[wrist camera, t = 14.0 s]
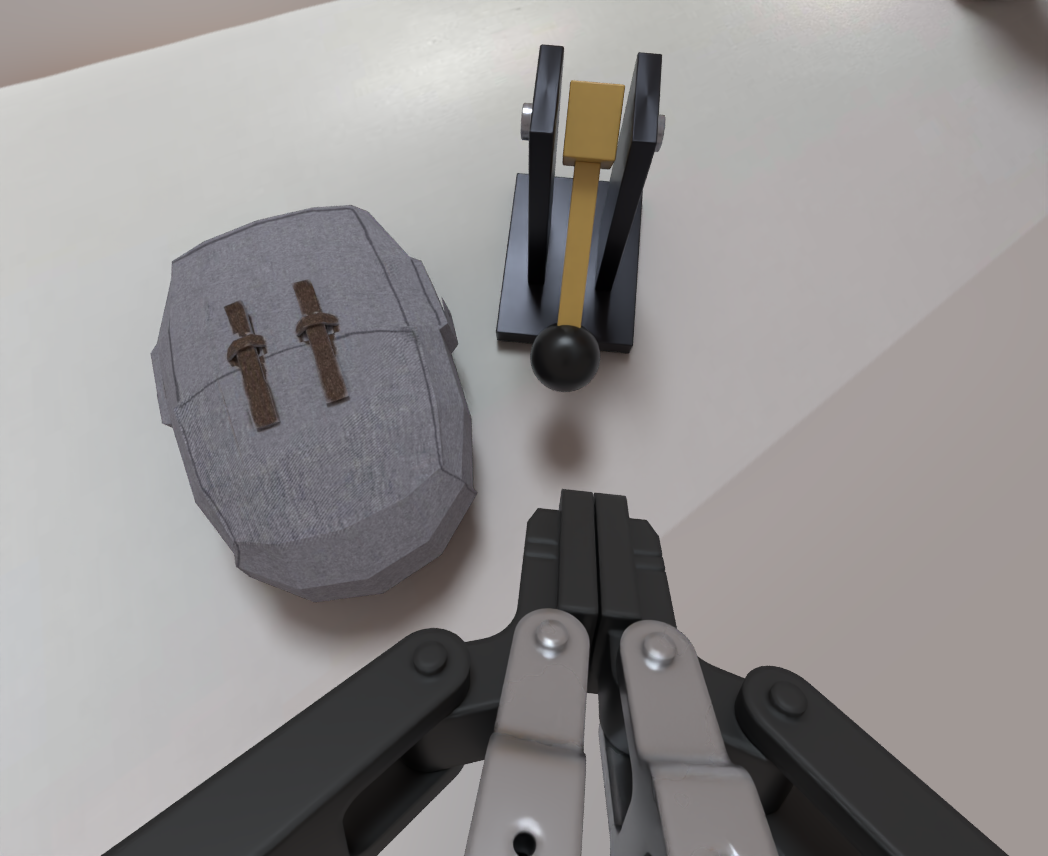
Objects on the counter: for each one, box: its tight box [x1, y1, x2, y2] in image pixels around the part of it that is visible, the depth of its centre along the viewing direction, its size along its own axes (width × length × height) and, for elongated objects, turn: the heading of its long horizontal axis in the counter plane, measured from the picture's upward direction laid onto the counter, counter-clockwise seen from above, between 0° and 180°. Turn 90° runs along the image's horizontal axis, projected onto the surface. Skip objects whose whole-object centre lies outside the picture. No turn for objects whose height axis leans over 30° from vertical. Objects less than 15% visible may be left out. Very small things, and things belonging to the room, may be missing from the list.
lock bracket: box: [496, 45, 665, 353], centre depth 28 cm, size 11×8×13 cm
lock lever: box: [530, 80, 625, 392], centre depth 25 cm, size 13×3×3 cm
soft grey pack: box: [151, 205, 477, 602], centre depth 27 cm, size 15×8×20 cm
